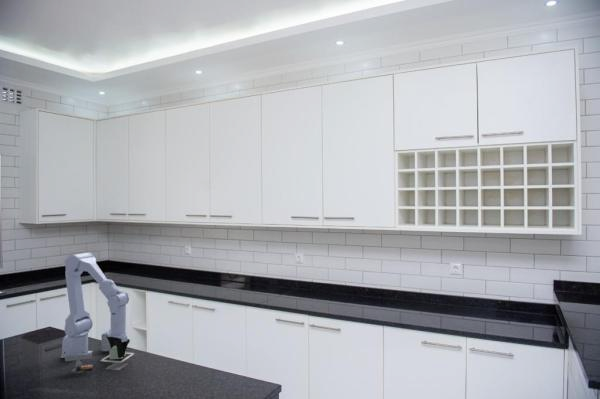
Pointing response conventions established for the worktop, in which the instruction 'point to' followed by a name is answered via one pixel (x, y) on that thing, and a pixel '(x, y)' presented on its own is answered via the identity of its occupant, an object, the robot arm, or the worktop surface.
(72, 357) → the tee key
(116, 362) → the tray
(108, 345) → the medicine box
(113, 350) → the cover
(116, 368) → the lock plate
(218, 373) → the worktop surface
